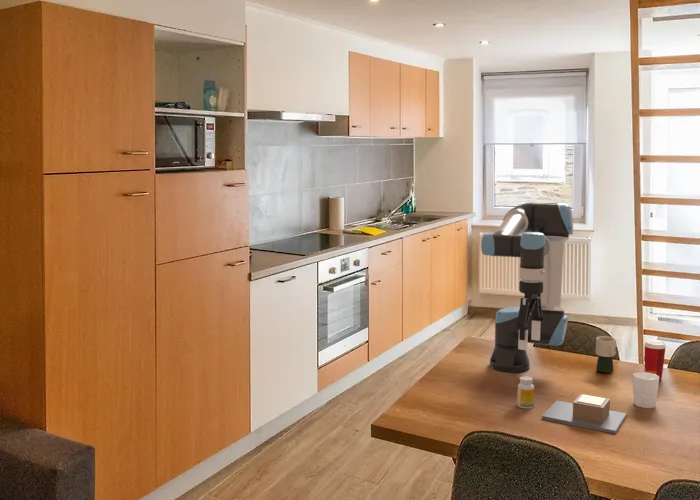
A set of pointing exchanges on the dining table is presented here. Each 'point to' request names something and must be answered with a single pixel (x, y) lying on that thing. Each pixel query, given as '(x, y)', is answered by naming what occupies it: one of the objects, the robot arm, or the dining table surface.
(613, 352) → the character mug
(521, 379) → the supplement bottle
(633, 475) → the dining table surface
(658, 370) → the paper cup
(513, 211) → the robot arm
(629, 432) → the dining table surface
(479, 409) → the dining table surface
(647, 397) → the white cup
